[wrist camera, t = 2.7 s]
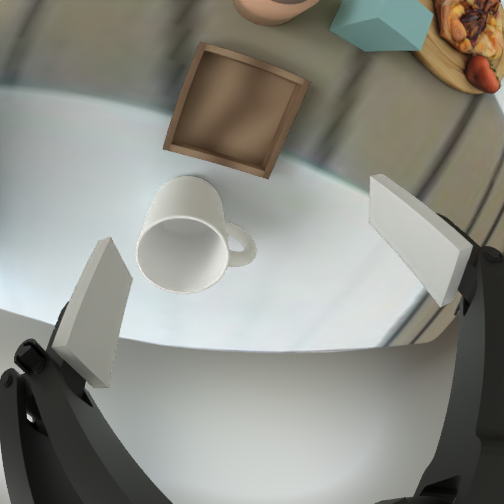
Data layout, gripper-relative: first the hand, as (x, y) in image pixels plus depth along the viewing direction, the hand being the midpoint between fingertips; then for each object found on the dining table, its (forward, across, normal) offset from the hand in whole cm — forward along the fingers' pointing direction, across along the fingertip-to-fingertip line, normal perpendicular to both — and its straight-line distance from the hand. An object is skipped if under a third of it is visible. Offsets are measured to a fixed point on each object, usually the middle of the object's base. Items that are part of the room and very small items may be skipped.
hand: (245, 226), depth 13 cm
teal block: (+19, +17, +12) cm, 28 cm away
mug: (+19, -4, -7) cm, 21 cm away
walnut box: (+19, +2, +4) cm, 19 cm away
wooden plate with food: (+20, +36, +20) cm, 46 cm away
